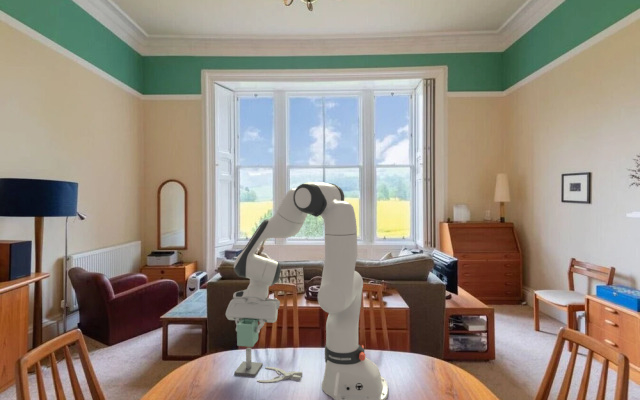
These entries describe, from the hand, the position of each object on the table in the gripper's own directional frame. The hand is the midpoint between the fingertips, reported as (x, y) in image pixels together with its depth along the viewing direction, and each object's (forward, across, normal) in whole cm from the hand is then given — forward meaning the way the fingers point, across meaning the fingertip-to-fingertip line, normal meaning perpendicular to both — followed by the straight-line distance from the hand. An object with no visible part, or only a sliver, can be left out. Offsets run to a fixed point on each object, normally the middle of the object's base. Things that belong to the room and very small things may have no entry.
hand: (247, 331), depth 124 cm
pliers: (+12, -14, -9) cm, 21 cm away
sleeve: (+3, 0, -4) cm, 4 cm away
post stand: (+10, 0, -10) cm, 15 cm away
